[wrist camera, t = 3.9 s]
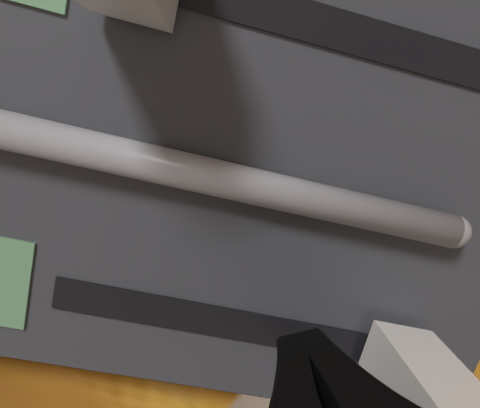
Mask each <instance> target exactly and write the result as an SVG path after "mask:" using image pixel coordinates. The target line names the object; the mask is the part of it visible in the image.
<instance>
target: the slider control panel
mask: <svg viewBox="0 0 480 408" xmlns="http://www.w3.org/2000/svg"><path fill="white" fill-rule="evenodd" d="M374 320H377V321H382V322H388V323H393V324H398V325H404V326H409V327H414V328H419V329H425V330H430V331H433V332H434V333H435V334H436V335H437V336H438V338H439V339H440V340H441V341H442V342H443V343H444V344H445V345H446V346H447V347H448V348H449V349H450V350H451V351H452V352H453V353H454V354H455V355H456V357H457V358H458V359H459V360H460V361H461V362H462V363H463V364H464V365H465V366H466V367H467V368H468V369H469V370H470V371H471V372H472V373H474V371H475V369H476V366H477V364H478V362H479V359H480V0H179V2H178V7H177V13H176V18H175V23H174V28H173V34H172V33H168V32H165V31H161V30H157V29H154V28H150V27H146V26H142V25H139V24H135V23H131V22H128V21H124V20H120V19H116V18H113V17H109V16H105V15H102V14H98V13H94V12H91V11H89V10H88V9H86V8H85V7H84V6H82V5H81V4H79V3H78V2H77V1H75V0H0V356H3V357H9V358H16V359H22V360H29V361H35V362H41V363H48V364H54V365H61V366H67V367H73V368H80V369H86V370H92V371H99V372H105V373H112V374H118V375H124V376H131V377H137V378H143V379H150V380H156V381H163V382H169V383H175V384H182V385H188V386H194V387H201V388H207V389H214V390H220V391H226V392H233V393H239V394H246V395H252V396H258V397H265V398H271V396H272V392H273V386H274V380H275V373H276V365H277V344H276V340H277V339H278V337H280V336H284V335H288V334H292V333H296V332H301V331H305V330H309V329H313V328H319V329H320V330H322V331H323V332H324V333H325V335H326V336H327V337H328V338H329V339H330V340H331V341H332V342H333V343H335V344H336V345H337V346H338V347H339V348H340V349H341V350H342V351H343V352H344V353H345V354H347V355H348V356H349V357H350V358H351V359H353V360H354V361H355V362H356V363H357V364H358V363H359V360H360V357H361V354H362V352H363V349H364V346H365V343H366V340H367V338H368V335H369V332H370V329H371V326H372V324H373V321H374Z"/></svg>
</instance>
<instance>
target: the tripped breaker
mask: <svg viewBox="0 0 480 408" xmlns="http://www.w3.org/2000/svg"><path fill="white" fill-rule="evenodd" d="M358 364H359V365H360V366H361V367H362V368H363V369H365V370H366V371H367V372H369V373H370V374H371V375H373V376H374V377H375V378H377V379H378V380H379V381H381V382H382V383H384V384H385V385H386V386H388V387H389V388H391V389H392V390H394V391H395V392H397V393H398V394H400V395H401V396H403V397H405V398H406V399H408V400H410V401H411V402H413V403H415V404H416V405H418V406H420V407H422V408H480V381H479V380H478V379H477V378H476V377H475V376H474V374H473V373H472V372H471V371H470V370H469V369H468V368H467V367H466V366H465V365H464V364H463V363H462V362H461V361H460V360H459V359H458V358H457V357H456V355H455V354H454V353H453V352H452V351H451V350H450V349H449V348H448V347H447V346H446V345H445V344H444V343H443V342H442V341H441V340H440V339H439V338H438V336H437V335H436V334H435V333H434V332H433V331H430V330H425V329H419V328H414V327H409V326H404V325H398V324H393V323H388V322H382V321H377V320H374V321H373V324H372V326H371V329H370V332H369V335H368V338H367V340H366V343H365V346H364V349H363V352H362V354H361V357H360V360H359V363H358Z"/></svg>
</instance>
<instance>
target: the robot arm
mask: <svg viewBox="0 0 480 408" xmlns="http://www.w3.org/2000/svg"><path fill="white" fill-rule="evenodd" d="M276 344H277V365H276V373H275V380H274V386H273V392H272V396H271V400H270V404H269V408H422V407H420V406H418V405H416V404H415V403H413V402H411V401H410V400H408V399H406V398H405V397H403V396H401V395H400V394H398V393H397V392H395V391H394V390H392V389H391V388H389V387H388V386H386V385H385V384H384V383H382V382H381V381H379V380H378V379H377V378H375V377H374V376H373V375H371V374H370V373H369V372H367V371H366V370H365V369H363V368H362V367H361V366H360V365H359V364H357V363H356V362H355V361H354V360H353V359H351V358H350V357H349V356H348V355H347V354H345V353H344V352H343V351H342V350H341V349H340V348H339V347H338V346H337V345H336V344H335V343H333V342H332V341H331V340H330V339H329V338H328V337H327V336H326V335H325V333H324V332H323V331H322V330H320V329H319V328H313V329H309V330H305V331H301V332H296V333H292V334H288V335H284V336H280V337H278V339H277V340H276Z"/></svg>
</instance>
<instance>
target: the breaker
mask: <svg viewBox="0 0 480 408" xmlns="http://www.w3.org/2000/svg"><path fill="white" fill-rule="evenodd" d="M75 1H77V2H78V3H79V4H81V5H82V6H84V7H85V8H86V9H88V10H89V11H91V12H94V13H98V14H102V15H105V16H109V17H113V18H116V19H120V20H124V21H128V22H131V23H135V24H139V25H142V26H146V27H150V28H154V29H157V30H161V31H165V32H168V33H172V34H173V28H174V23H175V18H176V13H177V7H178V2H179V0H75Z"/></svg>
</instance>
